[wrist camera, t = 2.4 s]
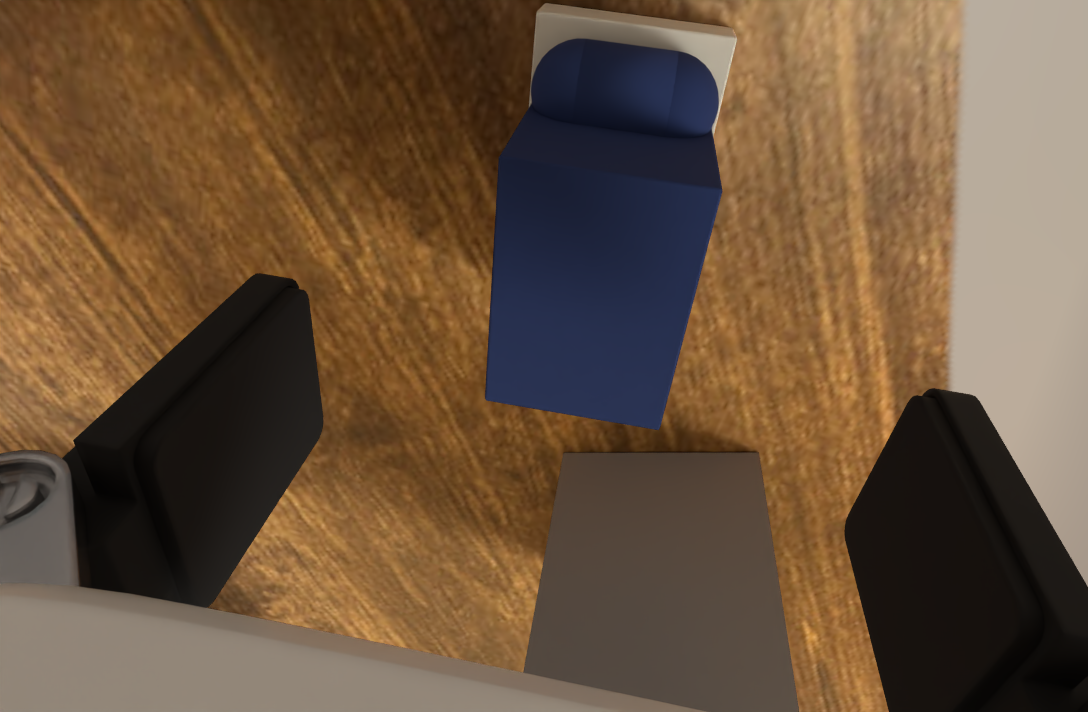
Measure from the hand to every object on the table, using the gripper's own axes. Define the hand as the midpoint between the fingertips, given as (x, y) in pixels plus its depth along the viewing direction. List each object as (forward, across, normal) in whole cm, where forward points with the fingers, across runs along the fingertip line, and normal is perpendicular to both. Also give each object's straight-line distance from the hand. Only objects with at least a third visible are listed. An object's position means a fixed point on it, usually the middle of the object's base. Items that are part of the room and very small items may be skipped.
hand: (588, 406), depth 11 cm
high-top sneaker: (+10, 0, 0) cm, 10 cm away
